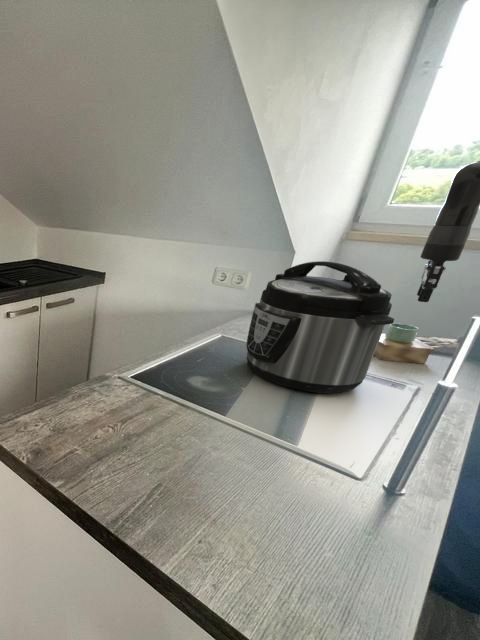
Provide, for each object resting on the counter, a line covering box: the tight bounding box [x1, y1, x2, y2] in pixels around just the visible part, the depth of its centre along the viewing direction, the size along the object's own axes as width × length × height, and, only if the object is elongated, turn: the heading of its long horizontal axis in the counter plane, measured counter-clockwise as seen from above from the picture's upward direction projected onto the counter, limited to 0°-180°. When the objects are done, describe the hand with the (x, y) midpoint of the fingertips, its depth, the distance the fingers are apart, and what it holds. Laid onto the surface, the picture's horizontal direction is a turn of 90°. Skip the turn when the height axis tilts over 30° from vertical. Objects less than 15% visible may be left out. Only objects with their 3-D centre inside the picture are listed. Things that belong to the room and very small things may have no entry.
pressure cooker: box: [245, 260, 395, 394], centre depth 105 cm, size 30×28×32 cm
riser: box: [373, 332, 436, 364], centre depth 122 cm, size 12×12×5 cm
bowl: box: [385, 322, 420, 343], centre depth 120 cm, size 6×6×4 cm
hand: (422, 298), depth 115 cm, fingers open, 8 cm apart
